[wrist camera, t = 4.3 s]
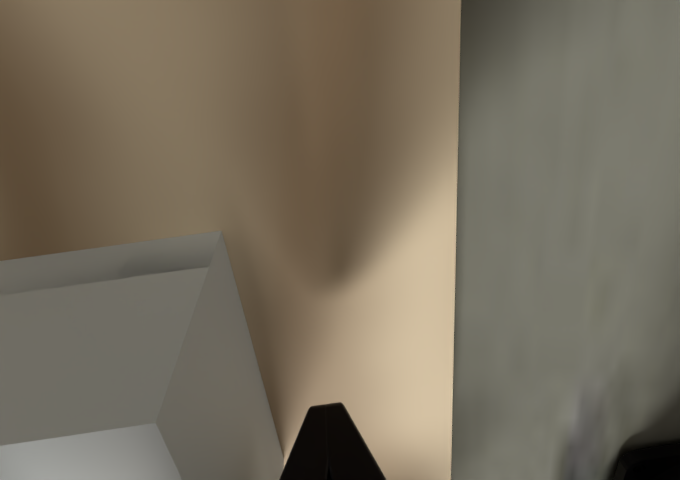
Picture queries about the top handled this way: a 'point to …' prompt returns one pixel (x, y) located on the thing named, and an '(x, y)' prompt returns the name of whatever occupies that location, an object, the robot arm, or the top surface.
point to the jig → (262, 181)
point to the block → (131, 367)
